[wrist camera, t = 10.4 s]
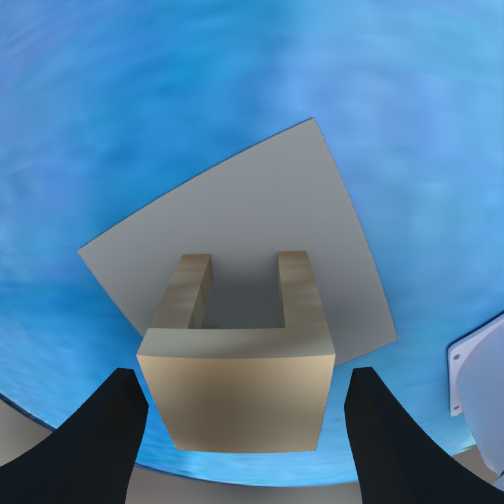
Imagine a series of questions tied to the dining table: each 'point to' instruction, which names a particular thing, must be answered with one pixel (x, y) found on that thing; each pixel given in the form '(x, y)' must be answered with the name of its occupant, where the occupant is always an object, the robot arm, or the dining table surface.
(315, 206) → the slate mat
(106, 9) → the dining table surface
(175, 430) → the wooden u-frame
